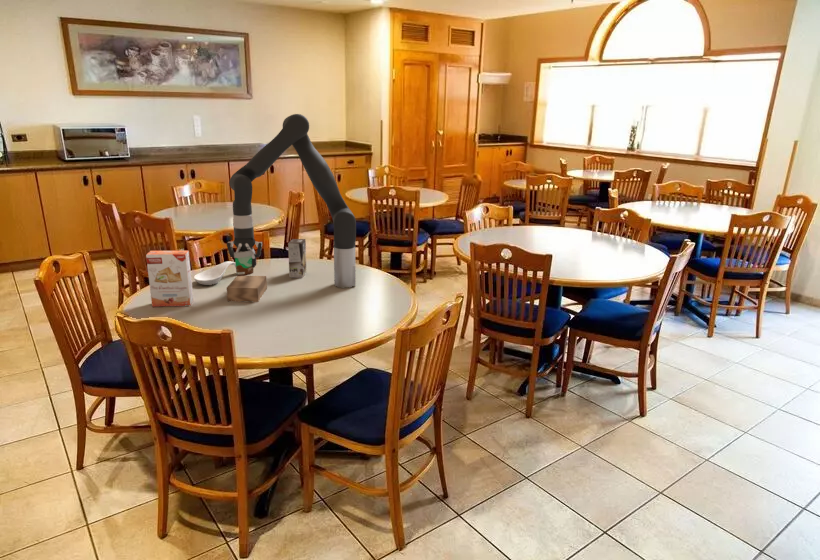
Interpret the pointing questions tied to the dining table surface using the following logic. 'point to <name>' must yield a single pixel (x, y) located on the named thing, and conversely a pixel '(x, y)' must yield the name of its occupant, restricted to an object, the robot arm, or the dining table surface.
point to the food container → (244, 262)
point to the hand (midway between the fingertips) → (246, 266)
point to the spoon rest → (213, 274)
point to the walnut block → (247, 288)
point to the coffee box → (297, 258)
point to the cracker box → (169, 278)
